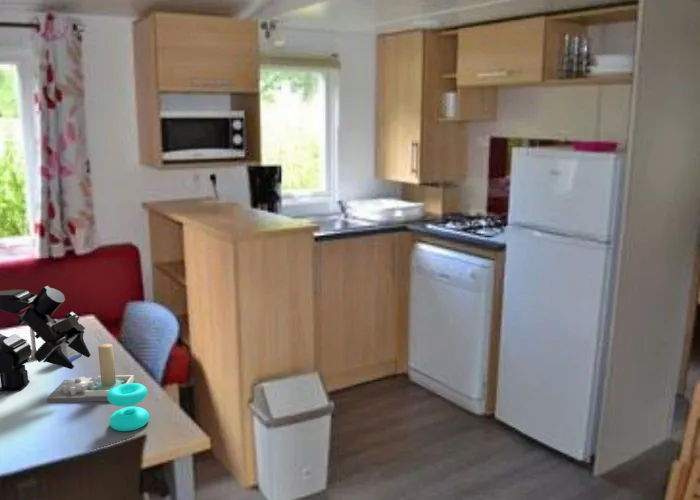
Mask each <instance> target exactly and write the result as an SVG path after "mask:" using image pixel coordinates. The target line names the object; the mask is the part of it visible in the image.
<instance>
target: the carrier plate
mask: <svg viewBox="0 0 700 500" xmlns="http://www.w3.org/2000/svg"><path fill="white" fill-rule="evenodd" d="M115 376H116V378H118V379H119V380H120V381H124V384H125V383H136V378H135V375H134V374H132V375H131V374H129V375H125V374H123V375H115ZM96 382H101V375H98V376H97V379H94V378H93V377H86V376H85V375H84V376H80V377H71V378H69V379H64V380H63V381H62V382H61V383H60V384H59V385H58V386H57V387H56V388H55V389H54V390H53V391H52V392H51V393H50V394H49V395H48V396H47V397H46V403H71V402H72V403H73V402H74V403H76V402H81V403H82V402H85V401H86V402H109V401H108V399H107V394H108V392H109V391H110V390H94V389H93V386H95V383H96Z"/></svg>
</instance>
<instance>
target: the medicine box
mask: <svg viewBox="0 0 700 500" xmlns="http://www.w3.org/2000/svg"><path fill="white" fill-rule="evenodd" d="M69 344H70V343H69ZM69 344H67V343H65V342H64V343H63V344H61V350H62V353H63V354H64V355H65V356H66V357H67V358H68V360H69V361H70V362H71V363H72V362H74V361H75V360H77V359H78V358H81V356H83V355H82V354H80V353H79V352H77V351H75V350H74V349H72V348H70V347H68V345H69Z"/></svg>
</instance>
